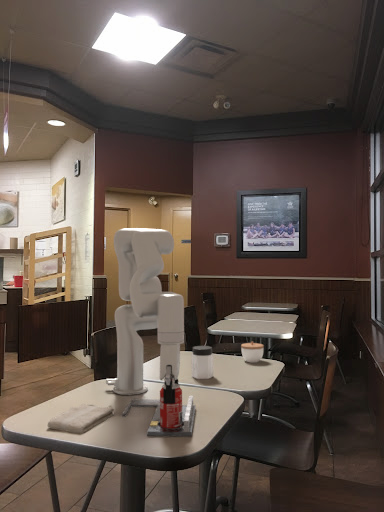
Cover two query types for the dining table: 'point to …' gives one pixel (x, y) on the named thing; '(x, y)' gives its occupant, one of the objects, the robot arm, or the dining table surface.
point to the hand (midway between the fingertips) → (171, 398)
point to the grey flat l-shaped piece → (141, 404)
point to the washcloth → (80, 418)
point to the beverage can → (171, 410)
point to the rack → (186, 430)
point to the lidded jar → (252, 351)
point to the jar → (202, 362)
